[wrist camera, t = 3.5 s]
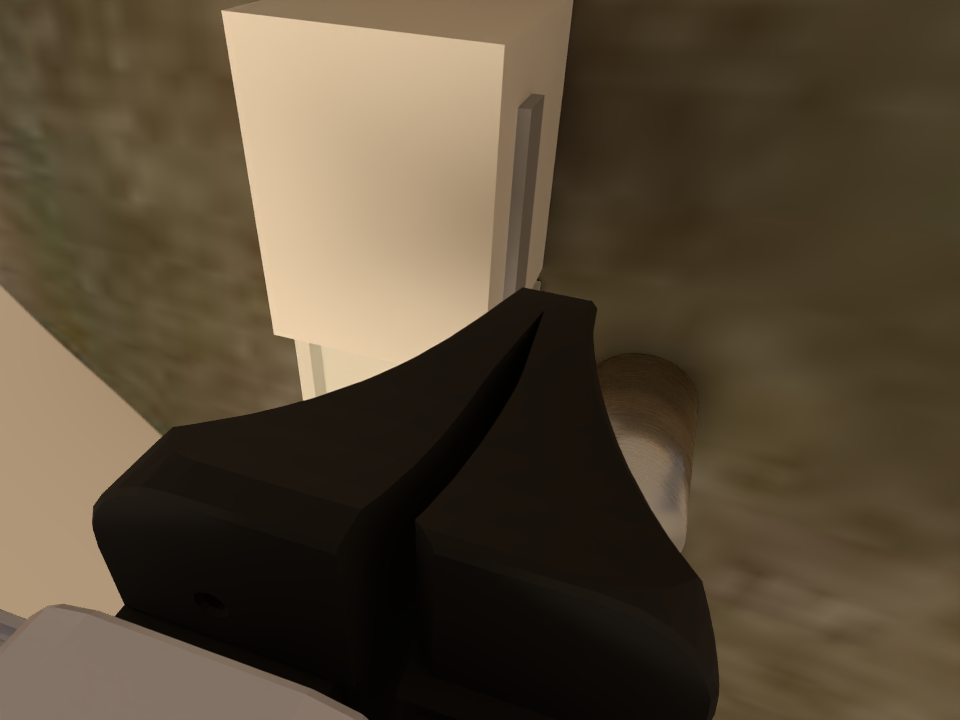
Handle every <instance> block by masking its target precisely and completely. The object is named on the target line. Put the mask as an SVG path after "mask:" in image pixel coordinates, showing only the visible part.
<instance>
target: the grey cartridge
mask: <svg viewBox="0 0 960 720" xmlns="http://www.w3.org/2000/svg"><path fill="white" fill-rule="evenodd" d="M597 373H598V378H599V383H600V387H601V391H602V395H603V399H604V403H605V406H606V410H607V413H608V416H609V419H610V422H611V425H612V428H613V431H614V433H615V436H616V439H617V441H618V444H619V446H620V449H621V451H622V453H623V456H624V458H625V460H626V462H627V465H628V467H629V469H630V471H631V473H632V475H633V476H634V478H635V480H636V482H637V484H638V486H639V488H640V489H641V491H642V493H643V495H644V497H645V499H646V501H647V503H648V504H649V506H650V508H651V510H652V511H653V513H654V514H655V516H656V518H657V519H658V521H659V522H660V524H661V525H662V527H663V529H664V530H665V532H666V533H667V535H668V536H669V538H670V539H671V541H672V542H673V543H674V545H675V546H676V548H677V549H678V550H679V552H680V553H681V551H682V549H683V547H684V544H685V540H686V529H687V519H688V508H689V497H690V486H691V476H692V465H693V454H694V443H695V432H696V422H697V411H698V398H697V393H696V390H695V388H694V386H693V384H692V382H691V381H690V379H689V378H688V377H687V376H686V374H685V373H684V372H683V371H681V370H680V369H679V368H678V367H676V366H675V365H673V364H672V363H670V362H668V361H666V360H664V359H661V358H659V357H655V356H652V355H646V354H636V353H633V354H623V355H618V356H614V357H611V358H609V359H607V360H605V361H603V362H602V363H600V364H599V365H597Z"/></svg>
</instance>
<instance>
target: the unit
mask: <svg viewBox="0 0 960 720" xmlns="http://www.w3.org/2000/svg"><path fill="white" fill-rule="evenodd" d="M572 9H573V0H259V1H255V2H251V3H248V4H244V5H240V6H236V7H233V8H229V9H225V10H222V16H223V23H224V29H225V35H226V41H227V47H228V53H229V60H230V66H231V72H232V78H233V84H234V90H235V96H236V103H237V109H238V115H239V121H240V127H241V133H242V140H243V146H244V152H245V158H246V164H247V170H248V176H249V183H250V189H251V195H252V201H253V207H254V213H255V220H256V226H257V232H258V238H259V244H260V250H261V256H262V263H263V269H264V275H265V281H266V287H267V293H268V299H269V306H270V312H271V318H272V324H273V330H274V335H278V336H283V337H287V338H291V339H295V340H299V341H304V342H308V343H312V344H316V345H321V346H325V347H329V348H333V349H338V350H342V351H346V352H350V353H354V354H359V355H363V356H367V357H371V358H376V359H380V360H384V361H388V362H393V363H397V364H402V363H404V362H406V361H408V360H410V359H412V358H414V357H416V356H418V355H420V354H421V353H423V352H425V351H427V350H428V349H430V348H432V347H434V346H435V345H437V344H439V343H440V342H442V341H444V340H446V339H447V338H449V337H451V336H452V335H454V334H455V333H457V332H458V331H460V330H461V329H463V328H464V327H466V326H467V325H469V324H470V323H472V322H473V321H475V320H476V319H478V318H479V317H481V316H482V315H484V314H485V313H487V312H488V311H489V310H491V309H492V308H494V307H495V306H496V305H498V304H499V303H501V302H502V301H503V300H505V299H506V298H508V297H509V296H510V295H512V294H513V293H515V292H516V291H518V290H520V289H521V288H523V287H524V288H529V289H532V288H533V286H534V284H535V282H536V280H537V278H538V276H539V274H540V272H541V270H542V268H543V259H544V251H545V242H546V233H547V225H548V216H549V207H550V199H551V190H552V182H553V173H554V164H555V156H556V147H557V138H558V130H559V121H560V112H561V104H562V95H563V86H564V78H565V69H566V60H567V52H568V43H569V35H570V26H571V17H572Z"/></svg>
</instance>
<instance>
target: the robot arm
mask: <svg viewBox="0 0 960 720" xmlns="http://www.w3.org/2000/svg"><path fill="white" fill-rule="evenodd" d="M596 313H597V308H596V306H595V305H594V303H593V302H592V301H588V300H583V299H578V298H573V297H568V296H564V295H559V294H554V293H549V292H544V291H539V290H534V289H529V288H524V287H523V288H521V289H520V290H518V291H516V292H515V293H513V294H512V295H510V296H509V297H508V298H506V299H505V300H503V301H502V302H501V303H499V304H498V305H496V306H495V307H494V308H492V309H491V310H489V311H488V312H487V313H485V314H484V315H482V316H481V317H479V318H478V319H476V320H475V321H473V322H472V323H470V324H469V325H467V326H466V327H464V328H463V329H461V330H460V331H458V332H457V333H455V334H454V335H452V336H451V337H449V338H447V339H446V340H444V341H442V342H440V343H439V344H437V345H435V346H434V347H432V348H430V349H428V350H427V351H425V352H423V353H421V354H420V355H418V356H416V357H414V358H412V359H410V360H408V361H406V362H404V363H402V364H400V365H398V366H396V367H394V368H391V369H389V370H387V371H385V372H382V373H380V374H378V375H375V376H373V377H371V378H368V379H366V380H363V381H361V382H358V383H355V384H352V385H349V386H346V387H344V388H341V389H338V390H335V391H332V392H329V393H326V394H324V395H321V396H318V397H315V398H311V399H308V400H304V401H301V402H297V403H294V404H290V405H286V406H282V407H278V408H274V409H270V410H266V411H262V412H257V413H253V414H248V415H243V416H238V417H232V418H226V419H221V420H215V421H209V422H203V423H197V424H191V425H185V426H178V427H172V428H171V429H170V430H169V431H168V432H167V433H166V434H164V435H163V436H162V437H161V439H159V440H158V441H157V442H156V443H155V444H154V445H153V446H152V447H151V448H150V449H149V450H148V451H147V452H146V453H144V454H143V455H142V456H141V457H140V458H139V459H138V460H137V461H136V462H135V463H134V464H133V465H132V466H131V467H130V468H129V469H128V470H127V471H126V472H125V473H124V474H123V475H121V476H120V477H119V478H118V479H117V480H116V481H115V482H114V483H113V484H112V485H111V486H110V487H109V488H108V489H107V490H106V491H105V492H104V493H103V494H102V495H101V496H100V498H99V499H98V501H97V502H96V503H95V505H94V506H93V518H92V525H93V531H94V534H95V537H96V540H97V544H98V547H99V549H100V551H101V554H102V556H103V558H104V560H105V562H106V564H107V567H108V569H109V571H110V573H111V576H112V578H113V580H114V582H115V584H116V587H117V589H118V591H119V593H120V595H121V598H122V600H123V602H124V604H125V605H124V606H123V607H122V609H121V610H120V611H119V612H118V613H117V615H116V616H115V617H114V616H111V615H109V614H105V613H103V612H100V611H96V610H91V609H86V608H81V607H76V606H71V605H66V604H60V605H51V606H47V607H45V608H43V609H42V610H40V611H38V612H37V613H35V614H33V615H32V616H30V617H29V618H28V619H25V618H22V617H19V616H17V615H14V614H12V613H9V612H6V611H4V610H1V609H0V720H712V718H713V716H714V715H715V711H716V706H717V702H718V697H719V672H718V661H717V652H716V644H715V638H714V632H713V627H712V622H711V617H710V612H709V608H708V604H707V599H706V595H705V591H704V587H703V583H702V581H701V579H700V578H699V577H698V575H697V574H696V573H695V572H694V570H693V569H692V568H691V566H690V565H689V564H688V562H687V561H686V560H685V559H684V557H683V556H682V555H681V553H680V552H679V550H678V549H677V548H676V546H675V545H674V543H673V542H672V541H671V539H670V538H669V536H668V535H667V533H666V532H665V530H664V529H663V527H662V525H661V524H660V522H659V521H658V519H657V518H656V516H655V514H654V513H653V511H652V510H651V508H650V506H649V504H648V503H647V501H646V499H645V497H644V495H643V493H642V491H641V489H640V488H639V486H638V484H637V482H636V480H635V478H634V476H633V475H632V473H631V471H630V469H629V467H628V465H627V462H626V460H625V458H624V456H623V453H622V451H621V449H620V446H619V444H618V441H617V439H616V436H615V433H614V431H613V428H612V425H611V422H610V419H609V416H608V413H607V410H606V406H605V403H604V399H603V395H602V391H601V387H600V383H599V378H598V373H597V366H596V360H595V354H594V343H593V330H594V325H595V319H596Z"/></svg>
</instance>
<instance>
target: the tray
mask: <svg viewBox="0 0 960 720" xmlns="http://www.w3.org/2000/svg"><path fill="white" fill-rule="evenodd" d="M540 285H541V281H536V282H535V284H534V286H533V288H532V289H534V290H539V291H540ZM295 345H296V353H297V360H298V367H299V374H300V381H301V388H302V395H303V401H304V400H308V399H311V398H315V397H318V396H321V395H324V394H326V393H329V392H332V391H335V390H338V389H341V388H344V387H346V386H349V385H352V384H355V383H358V382H361V381H363V380H366V379H368V378H371V377H373V376H375V375H378V374H380V373H382V372H385V371H387V370H389V369H391V368H394V367H396V366H398V365H400V364H397V363H393V362H388V361H384V360H380V359H376V358H371V357H367V356H363V355H359V354H354V353H350V352H346V351H342V350H338V349H333V348H329V347H325V346H321V345H316V344H312V343H308V342H304V341H299V340H295Z"/></svg>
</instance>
